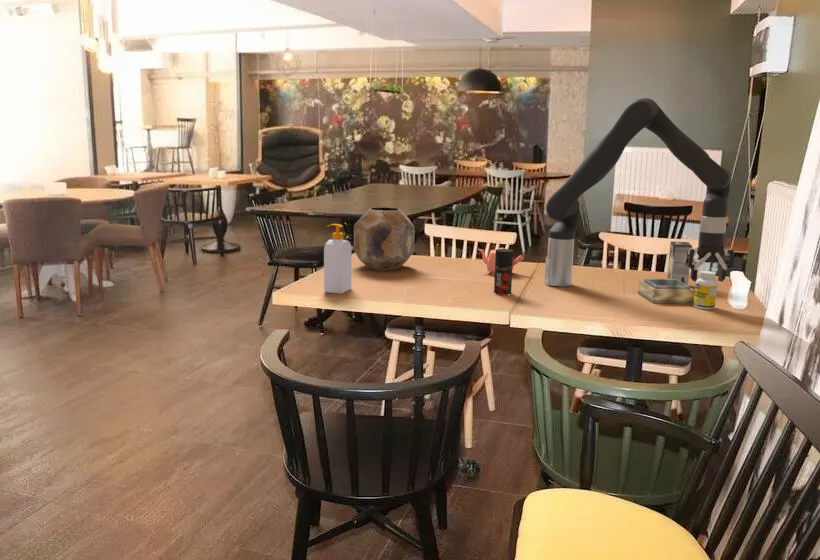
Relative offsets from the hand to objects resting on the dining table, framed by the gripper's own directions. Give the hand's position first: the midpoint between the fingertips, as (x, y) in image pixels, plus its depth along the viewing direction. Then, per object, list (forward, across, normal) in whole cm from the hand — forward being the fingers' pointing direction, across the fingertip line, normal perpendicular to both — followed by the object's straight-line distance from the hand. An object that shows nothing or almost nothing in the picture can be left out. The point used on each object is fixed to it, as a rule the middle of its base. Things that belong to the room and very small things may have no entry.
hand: (707, 280), depth 218 cm
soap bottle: (+8, -120, +16) cm, 122 cm away
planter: (+8, -105, +59) cm, 121 cm away
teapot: (+8, -59, +51) cm, 79 cm away
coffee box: (+9, +4, +32) cm, 34 cm away
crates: (+9, -8, +12) cm, 17 cm away
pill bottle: (+9, 0, 0) cm, 9 cm away
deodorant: (+8, -63, +16) cm, 66 cm away
